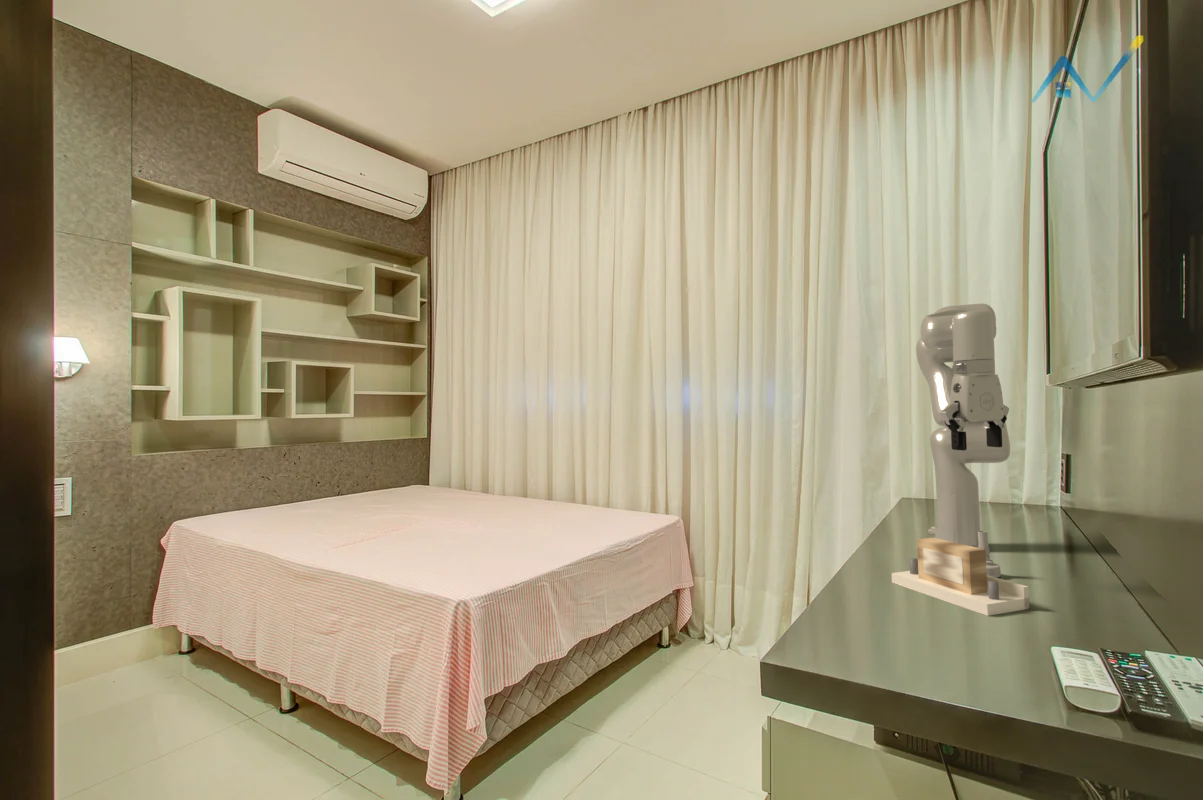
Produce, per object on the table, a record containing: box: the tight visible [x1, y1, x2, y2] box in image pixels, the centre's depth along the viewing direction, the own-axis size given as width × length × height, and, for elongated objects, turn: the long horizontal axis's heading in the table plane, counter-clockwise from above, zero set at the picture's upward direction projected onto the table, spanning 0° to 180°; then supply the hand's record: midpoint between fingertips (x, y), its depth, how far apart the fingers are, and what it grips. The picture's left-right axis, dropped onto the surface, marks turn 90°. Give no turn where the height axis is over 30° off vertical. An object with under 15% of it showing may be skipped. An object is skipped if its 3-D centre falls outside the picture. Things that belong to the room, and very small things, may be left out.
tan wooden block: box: [916, 536, 987, 595], centre depth 115 cm, size 12×4×8 cm, turn 17°
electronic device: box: [978, 530, 1002, 578], centre depth 131 cm, size 5×10×15 cm
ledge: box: [891, 558, 1030, 617], centre depth 115 cm, size 22×10×5 cm, turn 17°
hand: (977, 448), depth 126 cm, fingers open, 9 cm apart
